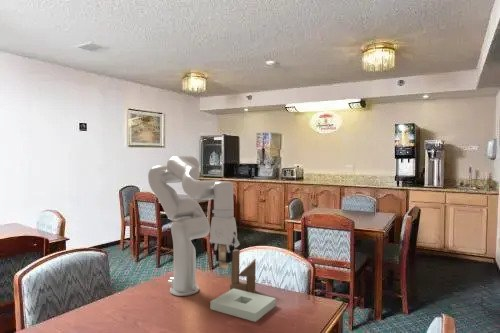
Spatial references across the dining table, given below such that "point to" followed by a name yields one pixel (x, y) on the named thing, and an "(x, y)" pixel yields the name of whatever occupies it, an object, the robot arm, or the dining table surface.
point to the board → (243, 304)
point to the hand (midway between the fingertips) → (224, 260)
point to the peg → (222, 257)
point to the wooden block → (242, 274)
